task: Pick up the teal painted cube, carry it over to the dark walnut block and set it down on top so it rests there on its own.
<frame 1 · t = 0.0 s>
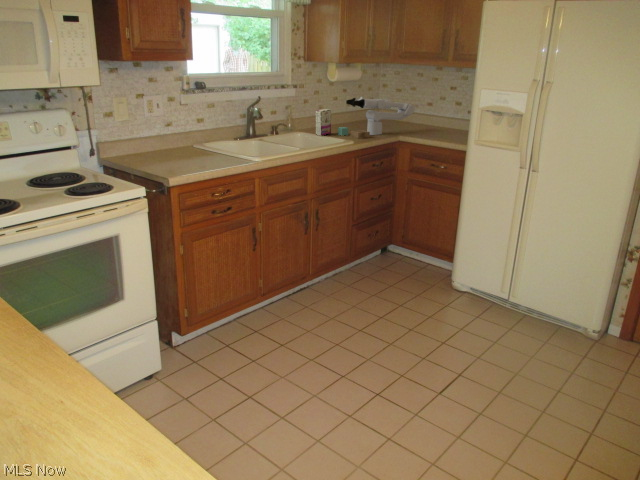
hand: (349, 102, 344), 22 cm above the counter, tool horizontal, fingers open, 7 cm apart
teal cube: (342, 135, 357), on the counter
walnut block: (359, 137, 349), on the counter
candy bar box: (323, 135, 356), on the counter
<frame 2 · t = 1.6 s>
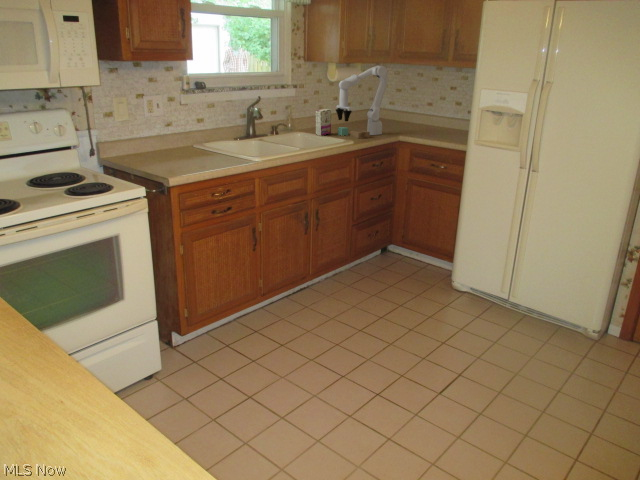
hand: (343, 120, 353), 9 cm above the counter, tool pointing down, fingers open, 7 cm apart
nothing on the counter moved.
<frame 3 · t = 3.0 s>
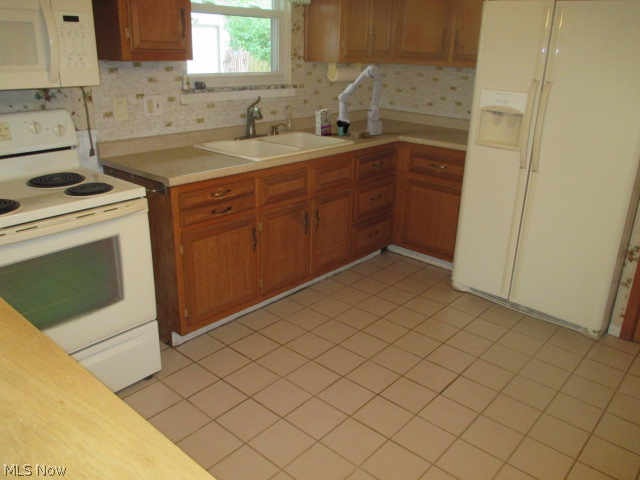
hand: (343, 132, 356), 1 cm above the counter, tool pointing down, fingers closed on teal cube, 5 cm apart
teal cube: (342, 135, 357), on the counter, touching gripper
everything else where it was.
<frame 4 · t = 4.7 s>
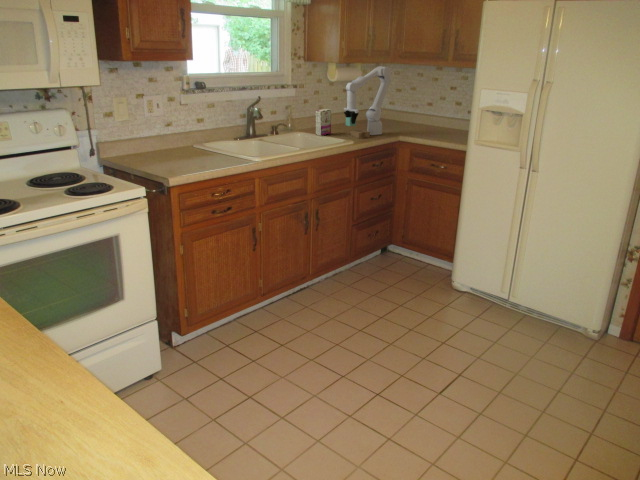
hand: (350, 123, 350), 8 cm above the counter, tool pointing down, fingers closed on teal cube, 5 cm apart
teal cube: (350, 125, 351), point 7 cm above the counter, touching gripper
everything else where it was.
when the fingers open (7 cm above the counter, at t = 6.4 s): teal cube drops 2 cm, point 4 cm above the counter.
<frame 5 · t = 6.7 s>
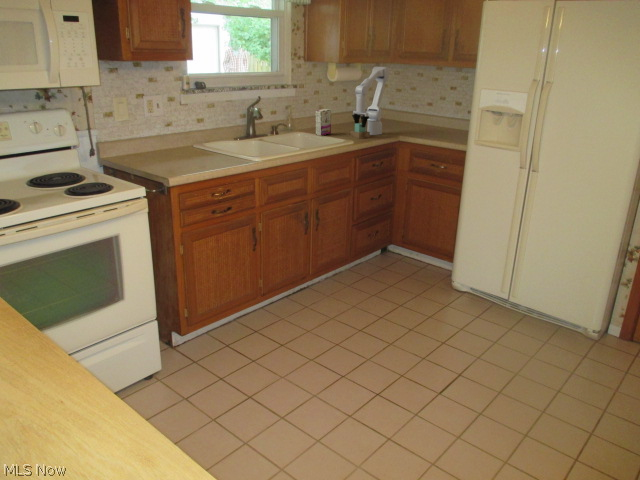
hand: (360, 126, 346), 7 cm above the counter, tool pointing down, fingers open, 7 cm apart
teal cube: (360, 131, 348), point 4 cm above the counter
everything else where it was.
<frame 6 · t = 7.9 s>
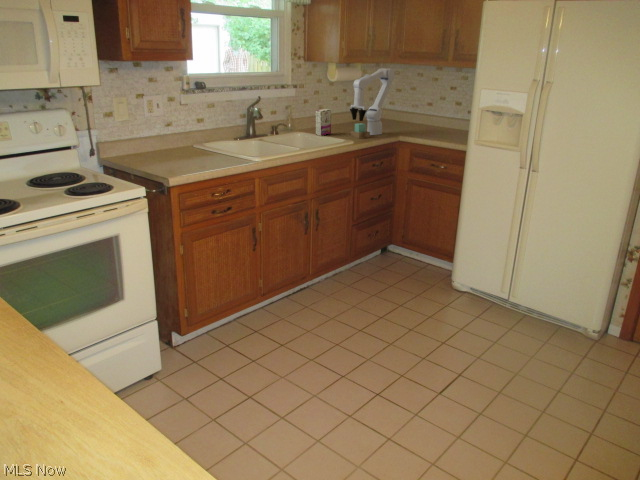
hand: (357, 120, 348), 10 cm above the counter, tool pointing down, fingers open, 7 cm apart
nothing on the counter moved.
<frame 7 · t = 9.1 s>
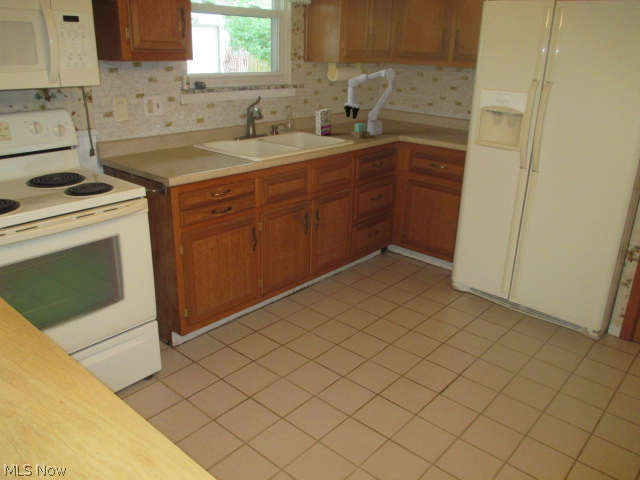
hand: (351, 117, 359), 10 cm above the counter, tool pointing down, fingers open, 7 cm apart
nothing on the counter moved.
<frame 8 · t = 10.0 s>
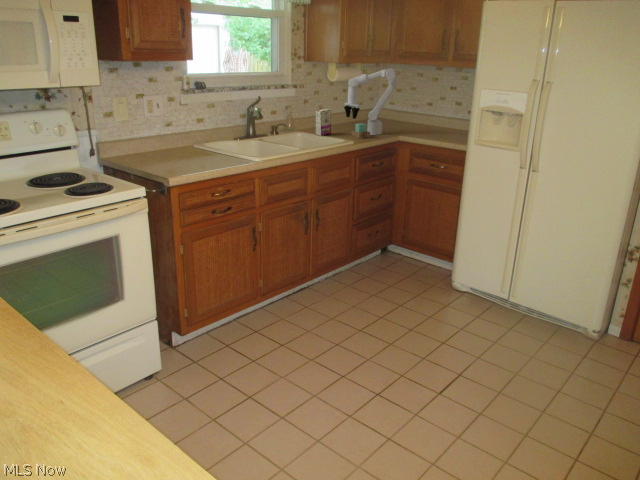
hand: (351, 117, 359), 10 cm above the counter, tool pointing down, fingers open, 7 cm apart
teal cube: (360, 131, 347), point 4 cm above the counter, touching walnut block
walnut block: (360, 137, 349), on the counter, touching teal cube
everything else where it was.
at the end: teal cube 0.6 cm off-centre on the walnut block, point 4.0 cm above the walnut block's base; teal cube tilted 0°; the gripper is holding nothing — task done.
